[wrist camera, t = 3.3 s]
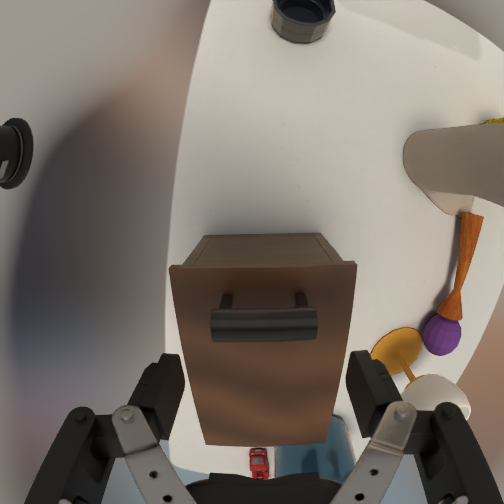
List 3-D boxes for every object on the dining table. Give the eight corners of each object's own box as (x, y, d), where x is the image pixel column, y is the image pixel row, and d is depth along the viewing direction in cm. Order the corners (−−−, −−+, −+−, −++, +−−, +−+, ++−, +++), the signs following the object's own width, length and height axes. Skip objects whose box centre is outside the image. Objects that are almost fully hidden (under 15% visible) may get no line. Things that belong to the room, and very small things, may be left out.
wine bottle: (265, 418, 40) (264, 587, 12) (345, 402, 39) (386, 567, 11) (280, 456, 44) (284, 587, 16) (347, 442, 43) (374, 571, 14)
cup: (357, 357, 36) (393, 444, 21) (406, 315, 34) (465, 391, 19) (386, 383, 38) (420, 459, 23) (429, 347, 36) (479, 415, 20)
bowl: (272, 43, 25) (274, 24, 20) (270, 3, 23) (271, -19, 18) (327, 46, 24) (338, 28, 20) (322, 6, 23) (330, -15, 18)
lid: (171, 264, 20) (145, 297, 15) (354, 260, 19) (381, 292, 14) (206, 439, 26) (199, 476, 21) (323, 437, 26) (330, 474, 20)
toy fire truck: (266, 446, 43) (266, 488, 34) (270, 475, 47) (270, 510, 38) (248, 447, 43) (246, 488, 34) (255, 476, 48) (254, 510, 38)
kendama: (499, 221, 25) (459, 358, 30) (468, 212, 31) (436, 339, 36) (478, 215, 24) (434, 367, 29) (444, 207, 30) (410, 345, 35)
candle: (458, 231, 30) (567, 290, 11) (392, 162, 28) (528, 178, 9) (481, 190, 28) (592, 225, 9) (420, 118, 26) (549, 101, 7)
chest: (204, 235, 32) (173, 276, 20) (320, 232, 31) (352, 272, 20) (219, 373, 38) (206, 439, 26) (310, 371, 37) (323, 437, 26)
